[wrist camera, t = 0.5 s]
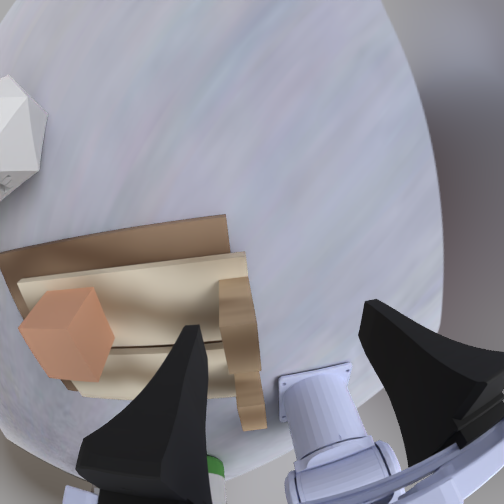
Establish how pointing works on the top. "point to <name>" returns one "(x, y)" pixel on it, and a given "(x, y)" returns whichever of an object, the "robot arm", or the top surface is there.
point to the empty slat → (149, 361)
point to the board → (115, 254)
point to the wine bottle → (216, 480)
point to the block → (69, 334)
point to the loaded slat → (171, 302)
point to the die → (19, 135)
